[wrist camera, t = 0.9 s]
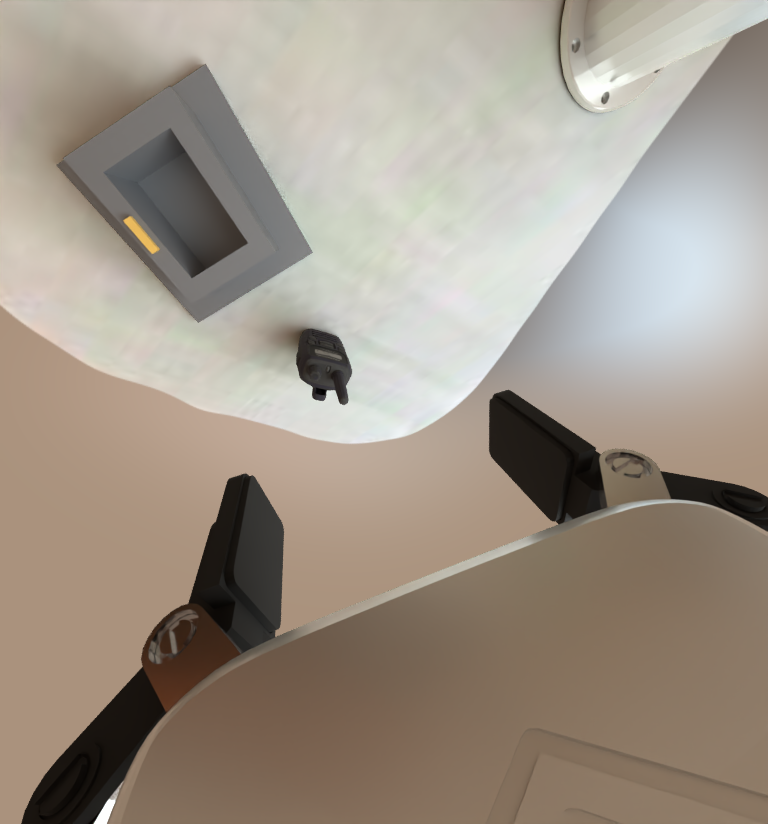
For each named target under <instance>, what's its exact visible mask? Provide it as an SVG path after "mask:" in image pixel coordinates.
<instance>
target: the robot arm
mask: <svg viewBox="0 0 768 824" xmlns="http://www.w3.org/2000/svg"><path fill="white" fill-rule="evenodd" d="M766 19H768V0H566V1H565V6H564V12H563V17H562V25H561V38H560V47H561V63H562V68H563V74H564V78H565V81H566V83H567V86H568V89H569V91H570V93H571V94H572V96H573V97H574V99H575V101H577V102H578V103H579V104H580V105H581V106H582V107H583V108H585V109H587V110H589V111H591V112H597V113H604V112H609V111H613V110H616V109H618V108H621V107H623V106H625V105H627V104H629V103H630V102H632V101H634V100H635V99H636V98H638V97H639V96H640V95H641V94H642V93H643V92H645V91H646V90H647V89H648V87H649V86H650V85H651V84H652V83H653V82H654V81H655V79H656V78H657V77H658V76H659V74H660V73H661V71H662V70H663V68H664V67H665V66H667V65H669V64H671V63H673V62H675V61H677V60H680V59H682V58H684V57H686V56H688V55H690V54H693V53H695V52H697V51H699V50H701V49H703V48H705V47H708V46H710V45H712V44H714V43H716V42H718V41H720V40H723V39H725V38H727V37H729V36H731V35H733V34H736V33H737V32H740V31H742V30H744V29H746V28H748V27H751V26H753V25H755V24H757V23H759V22H761V21H763V20H766ZM489 411H490V412H489V417H490V418H489V421H490V422H489V452H490V455H491V457H492V458H493V459H494V461H495V462H496V463H497V464H498V465H499V466H500V467H501V468H502V469H503V470H504V471H505V472H506V473H507V474H508V475H509V477H511V479H512V480H513V481H514V482H515V483H516V484H517V485H518V486H519V487H520V488H521V489H522V490H523V492H524V493H525V494H526V495H527V496H528V497H529V498H530V499H531V500H532V501H533V502H534V503H535V504H536V506H537V507H538V508H539V509H540V510H541V511H542V512H543V513H544V514H545V515H546V516H547V517H548V518H549V519H550V520H551V521H556V522H557V523H558V524H559V525H556V526H554V527H551V528H548V529H546V530H543V531H541V532H538V533H536V534H533V535H531V536H528V537H525V538H522V539H520V540H517V541H515V542H512V543H510V544H507V545H504V546H502V547H499V548H497V549H494V550H492V551H489V552H486V553H484V554H481V555H479V556H476V557H474V558H471V559H468V560H466V561H463V562H461V563H458V564H456V565H453V566H451V567H448V568H446V569H443V570H441V571H438V572H436V573H433V574H430V575H428V576H425V577H423V578H420V579H418V580H415V581H412V582H410V583H408V584H405V585H402V586H400V587H397V588H395V589H393V590H390V591H387V592H385V593H382V594H380V595H377V596H375V597H372V598H370V599H367V600H365V601H362V602H360V603H357V604H355V605H352V606H350V607H347V608H345V609H342V610H340V611H337V612H335V613H332V614H330V615H327V616H325V617H322V618H320V619H318V620H315V621H313V622H311V623H308V624H306V625H303V626H301V627H298V628H296V629H294V630H291V631H289V632H286V633H284V634H282V635H280V636H277V637H275V630H277V629H279V628H280V622H281V598H282V569H283V541H284V540H283V539H284V529H283V524H282V522H281V520H280V519H279V517H278V515H277V514H276V512H275V510H274V508H273V507H272V505H271V504H270V502H269V500H268V498H267V497H266V495H265V493H264V492H263V490H262V488H261V487H260V485H259V484H258V482H257V480H256V478H255V477H254V476H249V475H247V474H242V475H239V476H236V477H233V478H230V479H229V480H228V481H227V485H226V488H225V492H224V495H223V499H222V502H221V506H220V510H219V514H218V517H217V520H216V522H215V523H214V524H213V525H212V527H211V529H210V532H209V535H208V539H207V542H206V546H205V549H204V553H203V556H202V559H201V563H200V566H199V569H198V573H197V576H196V580H195V583H194V586H193V590H192V593H191V597H190V600H189V603H188V604H186V605H182V606H180V607H179V608H176V609H175V610H173V611H172V612H170V613H169V614H168V615H167V616H165V617H164V618H163V619H162V620H161V621H160V622H159V624H157V626H156V627H155V628H154V629H153V631H152V633H151V634H150V635H149V637H148V638H147V641H146V643H145V645H144V647H143V651H142V657H141V661H142V666H143V667H142V668H141V669H140V670H139V671H138V672H137V674H136V675H135V676H134V677H133V678H132V679H131V680H130V681H129V682H128V683H127V685H126V686H125V687H124V688H123V689H122V690H121V691H120V692H119V693H118V694H117V695H116V696H115V698H114V699H113V700H112V701H111V702H110V703H109V704H108V705H107V706H106V707H105V708H104V709H103V711H102V712H101V713H100V714H99V715H98V716H97V717H96V718H95V719H94V720H93V722H92V723H91V724H90V725H89V726H88V727H87V728H86V729H85V730H84V731H83V732H82V733H81V734H80V736H79V737H78V738H77V739H76V740H75V741H74V742H73V743H72V745H70V747H69V748H68V749H67V750H66V751H65V752H64V753H63V754H62V755H61V756H60V757H59V759H58V760H57V761H56V762H55V763H54V764H53V766H52V767H51V768H50V769H49V771H48V772H47V773H46V774H45V776H44V777H43V779H42V780H41V782H40V784H39V785H38V787H37V788H36V790H35V791H34V793H33V795H32V797H31V799H30V801H29V804H28V806H27V808H26V810H25V813H24V816H23V819H22V823H21V824H768V497H766V496H764V495H763V494H761V493H759V492H757V491H754V490H752V489H749V488H746V487H743V486H739V485H735V484H731V483H725V482H719V481H714V480H708V479H702V478H697V477H690V476H685V475H679V474H674V473H668V472H662V471H660V469H659V467H658V466H657V464H656V463H655V462H654V461H653V460H652V459H650V458H649V457H647V456H645V455H643V454H641V453H638V452H635V451H632V450H627V449H611V450H607V451H605V452H603V453H602V454H599V453H598V452H596V451H595V450H596V448H595V447H594V446H592V445H591V444H589V443H588V442H586V441H585V440H583V439H582V438H580V437H579V436H577V435H576V434H575V433H573V432H572V431H570V430H569V429H567V428H565V427H564V426H562V425H561V424H559V423H558V422H557V421H555V420H554V419H552V418H551V417H549V416H548V415H546V414H545V413H543V412H542V411H540V410H539V409H537V408H536V407H534V406H533V405H531V404H530V403H528V402H527V401H525V400H524V399H522V398H521V397H519V396H518V395H516V394H515V393H513V392H512V391H510V390H506V391H502V392H499V393H496V394H494V395H493V398H492V399H491V400H490V410H489Z"/></svg>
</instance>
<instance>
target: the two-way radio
mask: <svg viewBox="0 0 768 824" xmlns="http://www.w3.org/2000/svg"><path fill="white" fill-rule="evenodd" d="M296 357H297V358H296V364H297V367H298V371H299V376H300V378H301V379H302V380H303V381H304V382H306V383H307V384H309V385H311V386H312V387H313V391H312V397H313V398H314V399H315V400H319V401H324V400H325V398H326V391H327V390H336V393H337V396H338V400H339V402H340V404H342V405H345V404H347V403H348V394H347V389H346V385H347V383H348V381H349V379H350V377H351V374H352V369H351V365H350V362H349V359H348V357H347V355H346V352H345V349H344V347H343V344H342V342H341V340H340V339H339V337H337V336H334V335H331V334H328V333H325V332H321V331H318V330H313V329H308V330H305V331H304V332H303V333H302V335H301V337H300V341H299V347H298V352H297V356H296Z"/></svg>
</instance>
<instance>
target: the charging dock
mask: <svg viewBox="0 0 768 824" xmlns="http://www.w3.org/2000/svg"><path fill="white" fill-rule="evenodd" d="M63 159H64V160H63V161H62V162H60V163H59V164H57V166H58V167H59V169H60V170H61V171H62V172H63V173H64V174H65V175H66V176H67V177H68V179H69V180H70V181H71V182H72V183H73V184H74V185H75V186H76V187H77V189H78V190H79V191H80V192H81V193H82V194H83V195H84V196H85V197H86V199H87V200H88V201H89V202H90V203H91V204H92V205H93V206H94V207H95V209H96V210H97V211H98V212H99V213H100V214H101V215H102V216H103V217H104V218H105V220H106V221H107V222H108V223H109V224H110V225H111V226H112V227H113V228H114V230H115V231H116V232H117V233H118V234H119V235H120V236H121V237H122V238H123V240H124V241H125V242H126V243H127V244H128V245H129V246H130V247H131V248H132V250H133V251H134V252H135V253H136V254H137V255H138V256H139V257H140V258H141V260H142V261H143V262H144V263H145V264H146V265H147V266H148V267H149V268H150V270H151V271H152V272H153V273H154V274H155V275H156V276H157V277H158V278H159V280H160V281H161V282H162V283H163V284H164V285H165V286H166V287H167V288H168V290H169V291H170V292H171V293H172V294H173V295H174V296H175V297H176V298H177V300H178V301H179V302H180V303H181V304H182V305H183V306H184V307H185V308H186V310H187V311H188V312H189V313H190V314H191V315H192V316H193V317H194V318H195V320H196V321H197V322H198V323H199V322H200V321H202V320H204V319H205V318H207V317H208V316H210V315H212V314H213V313H215V312H217V311H218V310H220V309H221V308H223V307H225V306H226V305H228V304H230V303H231V302H233V301H235V300H236V299H238V298H239V297H241V296H243V295H244V294H246V293H248V292H249V291H251V290H252V289H254V288H256V287H257V286H259V285H261V284H262V283H264V282H266V281H267V280H269V279H270V278H272V277H274V276H275V275H277V274H279V273H280V272H282V271H283V270H285V269H287V268H288V267H290V266H292V265H293V264H295V263H297V262H298V261H300V260H301V259H303V258H305V257H306V256H308V255H310V254H311V253H313V252H312V250H311V249H310V247H309V245H308V243H307V241H306V240H305V238H304V236H303V234H302V233H301V231H300V229H299V227H298V226H297V224H296V222H295V220H294V219H293V217H292V215H291V213H290V212H289V210H288V208H287V206H286V204H285V203H284V201H283V199H282V197H281V196H280V194H279V192H278V190H277V189H276V187H275V185H274V183H273V182H272V180H271V178H270V176H269V175H268V173H267V171H266V169H265V167H264V166H263V164H262V162H261V160H260V159H259V157H258V155H257V153H256V152H255V150H254V148H253V146H252V145H251V143H250V141H249V139H248V137H247V136H246V134H245V132H244V130H243V129H242V127H241V125H240V123H239V122H238V120H237V118H236V116H235V115H234V113H233V111H232V109H231V108H230V106H229V104H228V102H227V100H226V99H225V97H224V95H223V93H222V92H221V90H220V88H219V86H218V85H217V83H216V81H215V79H214V78H213V76H212V74H211V72H210V70H209V69H208V67H207V65H206V64H205V65H203V66H202V67H200V68H199V69H197V70H196V71H194V72H193V73H191V74H190V75H189V76H187V77H186V78H184V79H183V80H181V81H180V82H178V83H177V84H175V85H174V86H172V87H170V86H169V87H167V88H166V89H164V90H163V91H161V92H160V93H158V94H157V95H155V96H154V97H152V98H151V99H149V100H148V101H146V102H145V103H144V104H142V105H141V106H139V107H138V108H136V109H135V110H133V111H132V112H130V113H129V114H127V115H126V116H124V117H123V118H121V119H120V120H118V121H117V122H116V123H114V124H113V125H111V126H110V127H108V128H107V129H105V130H104V131H102V132H101V133H99V134H98V135H96V136H95V137H93V138H92V139H90V140H89V141H87V142H86V143H85V144H83V145H82V146H80V147H79V148H77V149H76V150H74V151H73V152H71V153H70V154H68V155H67V156H65V157H64V158H63Z"/></svg>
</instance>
